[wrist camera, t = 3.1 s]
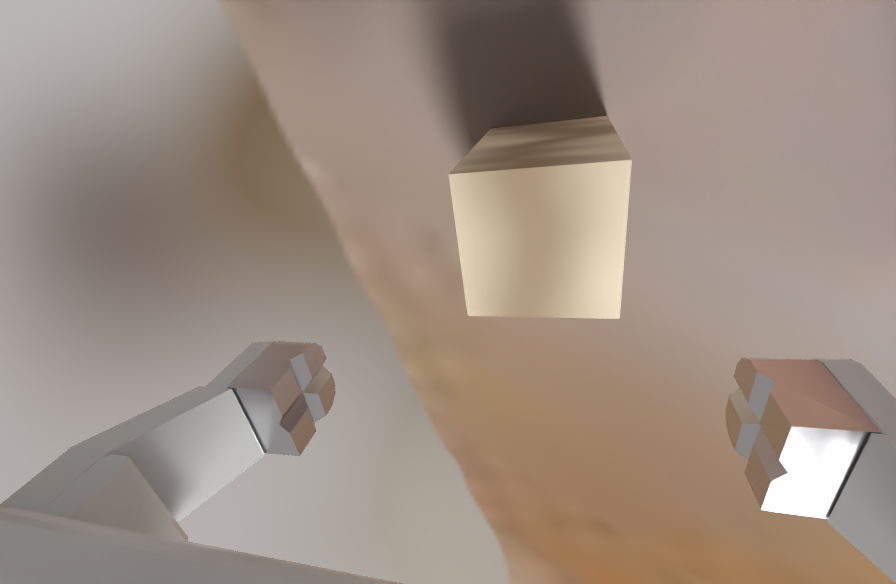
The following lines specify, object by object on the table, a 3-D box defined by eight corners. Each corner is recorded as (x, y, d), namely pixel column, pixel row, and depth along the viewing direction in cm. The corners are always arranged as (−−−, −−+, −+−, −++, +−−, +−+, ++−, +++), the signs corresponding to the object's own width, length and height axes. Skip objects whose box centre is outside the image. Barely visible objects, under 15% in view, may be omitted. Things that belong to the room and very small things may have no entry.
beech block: (607, 115, 17) (631, 159, 11) (602, 226, 20) (619, 318, 13) (490, 128, 19) (448, 174, 12) (499, 230, 21) (468, 315, 15)
